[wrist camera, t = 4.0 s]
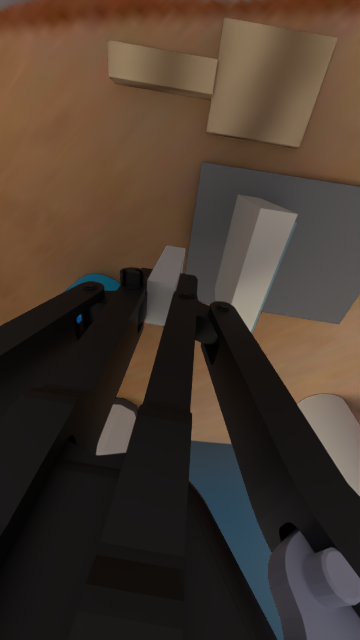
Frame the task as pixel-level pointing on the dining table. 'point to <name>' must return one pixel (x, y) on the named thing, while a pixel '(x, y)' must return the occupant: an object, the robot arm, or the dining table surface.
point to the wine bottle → (117, 428)
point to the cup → (336, 433)
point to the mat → (304, 246)
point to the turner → (239, 79)
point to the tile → (253, 255)
